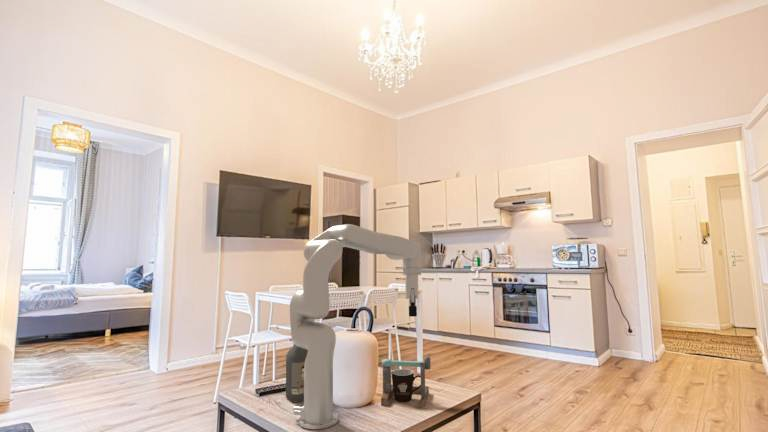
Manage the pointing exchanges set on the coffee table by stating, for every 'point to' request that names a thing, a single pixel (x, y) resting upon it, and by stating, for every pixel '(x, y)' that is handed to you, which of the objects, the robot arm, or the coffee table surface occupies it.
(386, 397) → the dock
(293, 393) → the liquor
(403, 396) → the coffee mug
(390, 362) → the clip
